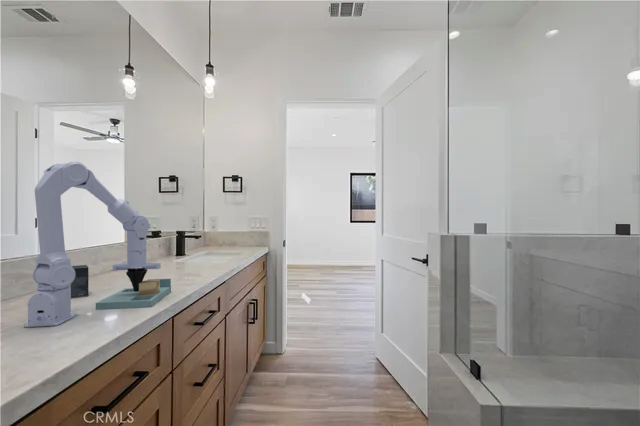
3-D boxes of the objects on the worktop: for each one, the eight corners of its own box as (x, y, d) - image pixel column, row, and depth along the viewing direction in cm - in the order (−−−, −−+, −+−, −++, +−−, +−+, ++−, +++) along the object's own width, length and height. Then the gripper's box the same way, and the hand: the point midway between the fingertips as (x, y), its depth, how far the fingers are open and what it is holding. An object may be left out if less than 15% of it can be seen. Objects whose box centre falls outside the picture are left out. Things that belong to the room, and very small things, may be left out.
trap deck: (151, 306, 102) (151, 290, 102) (95, 309, 99) (95, 293, 99) (170, 291, 121) (170, 278, 121) (124, 293, 119) (124, 280, 119)
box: (88, 296, 116) (88, 266, 116) (68, 299, 113) (68, 268, 113) (87, 292, 122) (86, 264, 122) (68, 294, 119) (67, 265, 119)
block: (155, 294, 109) (154, 282, 109) (139, 295, 108) (138, 283, 108) (159, 291, 114) (159, 279, 114) (144, 292, 113) (144, 280, 113)
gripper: (163, 249, 115) (163, 287, 115) (119, 250, 113) (119, 289, 113) (156, 251, 108) (156, 292, 108) (109, 252, 106) (109, 294, 106)
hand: (137, 291), depth 110 cm, fingers closed
